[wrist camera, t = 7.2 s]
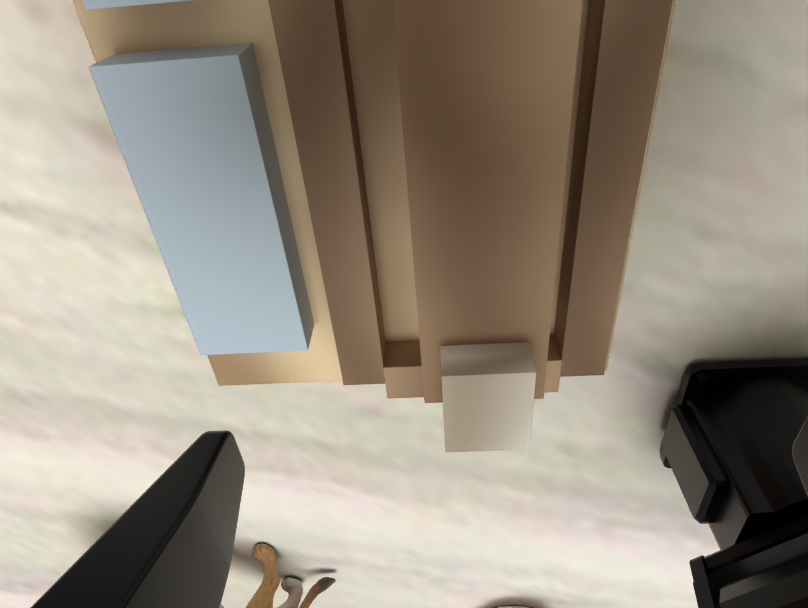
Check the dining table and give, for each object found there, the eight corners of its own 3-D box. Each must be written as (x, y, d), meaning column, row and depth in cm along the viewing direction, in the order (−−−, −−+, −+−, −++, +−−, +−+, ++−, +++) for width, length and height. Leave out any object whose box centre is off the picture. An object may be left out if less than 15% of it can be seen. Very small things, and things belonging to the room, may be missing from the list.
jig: (700, -244, 13) (757, -274, 10) (598, 350, 23) (616, 397, 21) (34, -171, 14) (-39, -185, 12) (226, 366, 24) (208, 412, 22)
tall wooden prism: (537, -57, 14) (604, -32, 9) (518, 316, 21) (549, 448, 16) (398, -44, 14) (386, -13, 9) (425, 321, 21) (426, 452, 16)
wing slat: (252, 42, 15) (237, 55, 14) (314, 324, 21) (307, 350, 20) (114, 54, 16) (88, 66, 14) (212, 329, 21) (200, 355, 20)
